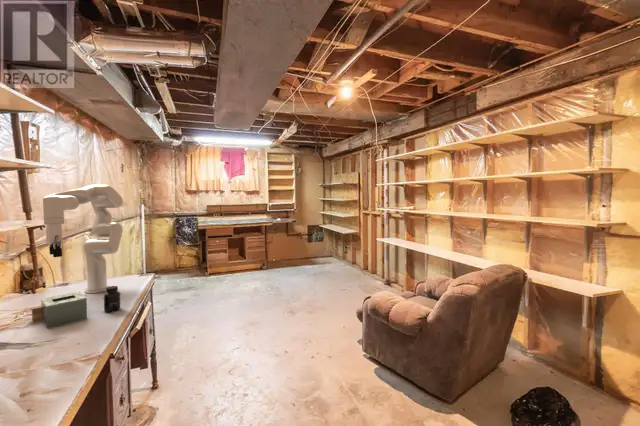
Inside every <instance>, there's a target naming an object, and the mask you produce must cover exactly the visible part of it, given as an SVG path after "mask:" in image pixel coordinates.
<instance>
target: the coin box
mask: <svg viewBox="0 0 640 426" xmlns="http://www.w3.org/2000/svg"><path fill="white" fill-rule="evenodd" d="M40 302H41V304H40V306H42V320H41V321H42V322H43V324H44V326H45V327H46V329H53V328H56V327H60V326H65V325H69V324H72V323H75V322H80V321H84V320H87V319H88V309H87V308H88V307H87V305H88V304H87V297H86V296H85V295H84V294H82V293H81V292H80V291H75V292H70V293H65V294H61V295H59V294H58V295H55V296H50V297H45V298H41V300H40Z"/></svg>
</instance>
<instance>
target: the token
mask: <svg viewBox="0 0 640 426" xmlns="http://www.w3.org/2000/svg"><path fill="white" fill-rule="evenodd" d="M31 319H32V322H37V321H43V320H42V306H41V305H37V306H32V307H31Z"/></svg>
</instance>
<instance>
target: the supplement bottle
mask: <svg viewBox="0 0 640 426" xmlns="http://www.w3.org/2000/svg"><path fill="white" fill-rule="evenodd" d="M109 286H110V287H107V288H106V291H105V293H104V294H103V310H104V311H103V312H105V313H108V314H109V313H110V314H111V313H115V312H118V311H120V310H121V292H120V291H119V289H118V288H119V287H118V286H117V285H109Z"/></svg>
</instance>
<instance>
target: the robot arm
mask: <svg viewBox="0 0 640 426" xmlns="http://www.w3.org/2000/svg"><path fill="white" fill-rule="evenodd" d="M89 202H90V204H91V206H92V209H93V210H94V213H95V217H94V222H93V224H92V228H91V236H92V237H94V238H89V239H87V240H86V241H85V242H84V244H83V251H84V254H85V260H86V261H85V262H86V279H87V280H86V282H87V284H86V285H87V286H86V287H87V288H85V289H84V291H83V292H84V293H85V294H96V293H98V294H99V293H102V292H106V288H107V287H110V286H111V285H108V281H107V280H108V279H107V260H106V258H105V257H104V255H114V254H116V253H117V252H118V251H119V247H120V244H121V238H122V235H123V226H122V224H120V223H119V222H113V221H112V218H113V216H112V213H110V211H109V209H116V208H118V209H119V208H120V207H122V206H123V204H124V203H123V202H124V201H123V197H122V196H121V194H120V193H119V192H117V190H116V189H115V188H113V187H112V186H110V185H108V184H90V185H86V186H84V187H81V188H77V189H71V190H66V191H65V190H64V191H60V192H55V193H52V194H49V195H46V196H44V197H43V198H42V209H43V210H42V211H43V225H44V226H46V229H45V231H46V232H45V233H46V234H45V236H46V237H45V238H46V243H45V244H47V245H49V246H48V248H49V255H52V257H53V258H61V257H63V247H62V244H63V225H64V224H65V212H64V211H73V210H76V209H77V208H78V207H79V206H80V205H85V204H87V203H89Z"/></svg>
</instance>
